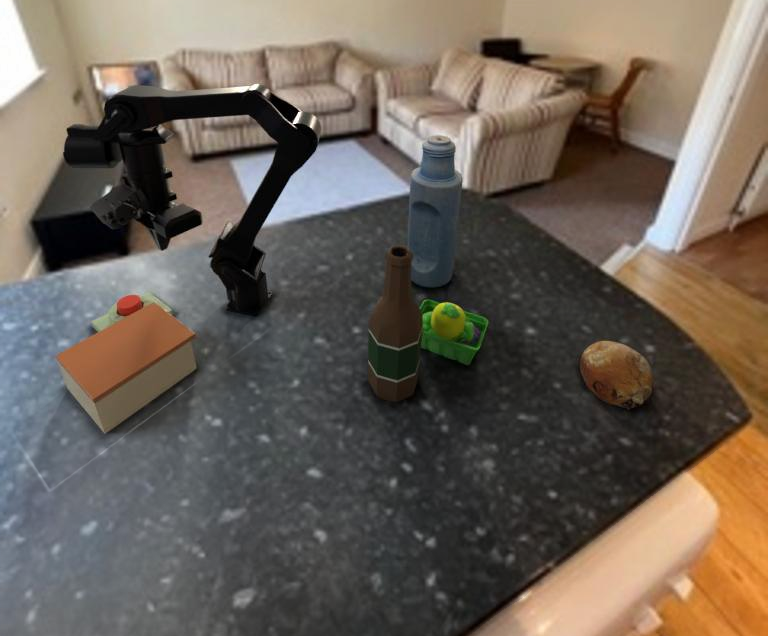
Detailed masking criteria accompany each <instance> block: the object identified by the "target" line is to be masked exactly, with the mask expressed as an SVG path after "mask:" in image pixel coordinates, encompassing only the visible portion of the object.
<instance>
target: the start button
mask: <svg viewBox="0 0 768 636" xmlns="http://www.w3.org/2000/svg"><path fill="white" fill-rule="evenodd" d="M138 295H139V294H128V295H125V296H123V297H121V298H120V299H119V300H118V301H116V302H117V308H118V312H119V314H120V315H121V316H129V315H131V314H133V313H135V312H136V311H138V310H140V309H142V303H141V299H140V297H139V296H138Z"/></svg>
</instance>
